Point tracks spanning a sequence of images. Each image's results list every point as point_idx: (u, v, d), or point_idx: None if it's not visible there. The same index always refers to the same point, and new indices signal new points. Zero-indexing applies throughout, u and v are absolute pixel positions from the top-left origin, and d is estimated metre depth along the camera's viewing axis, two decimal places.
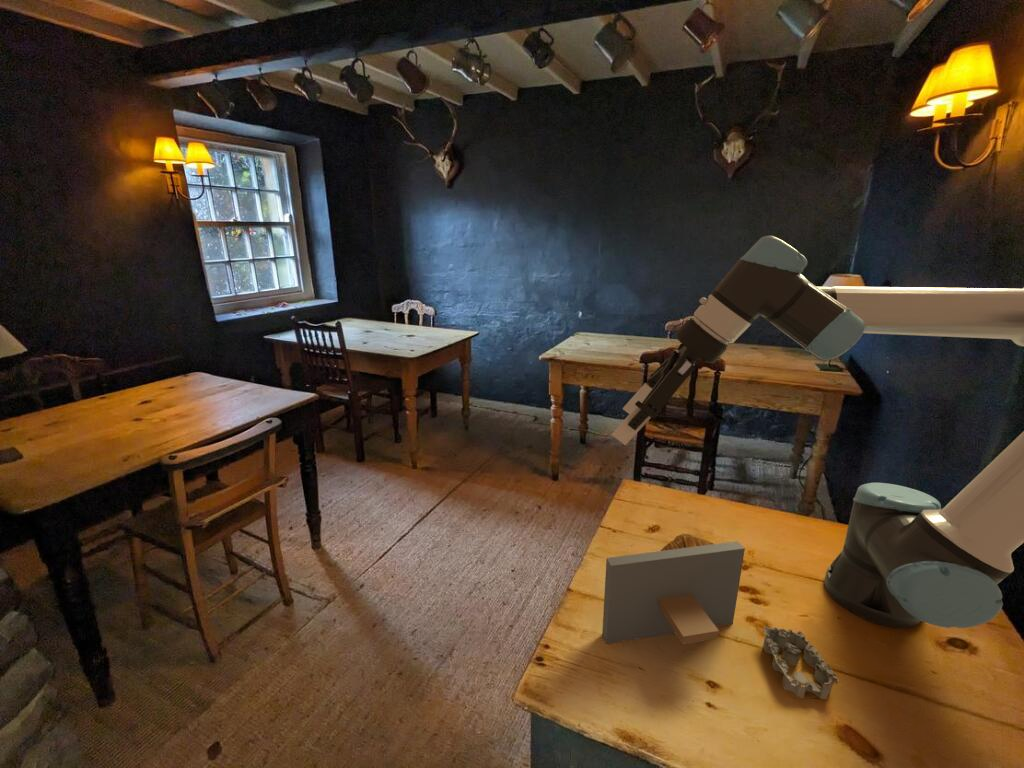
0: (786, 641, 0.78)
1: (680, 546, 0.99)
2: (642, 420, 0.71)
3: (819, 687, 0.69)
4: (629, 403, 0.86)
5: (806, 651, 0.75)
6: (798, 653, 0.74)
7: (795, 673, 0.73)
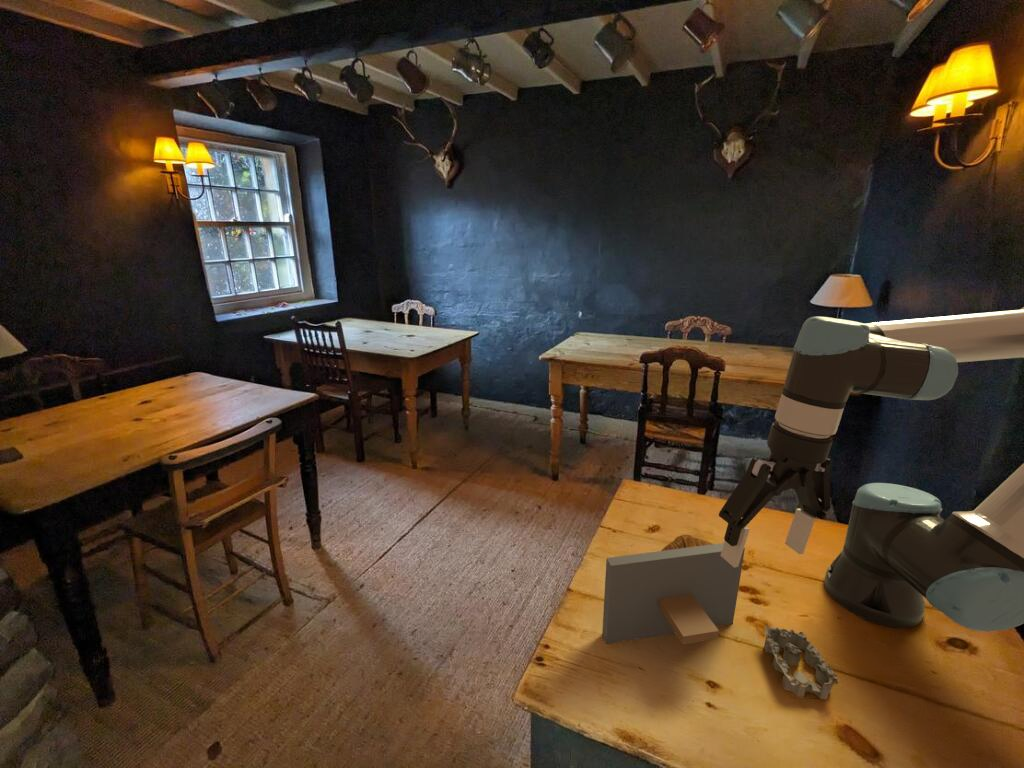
0: (787, 641, 0.77)
1: (680, 546, 0.99)
2: (733, 532, 0.66)
3: (819, 687, 0.69)
4: (789, 535, 0.74)
5: (807, 651, 0.75)
6: (799, 653, 0.74)
7: (796, 673, 0.73)
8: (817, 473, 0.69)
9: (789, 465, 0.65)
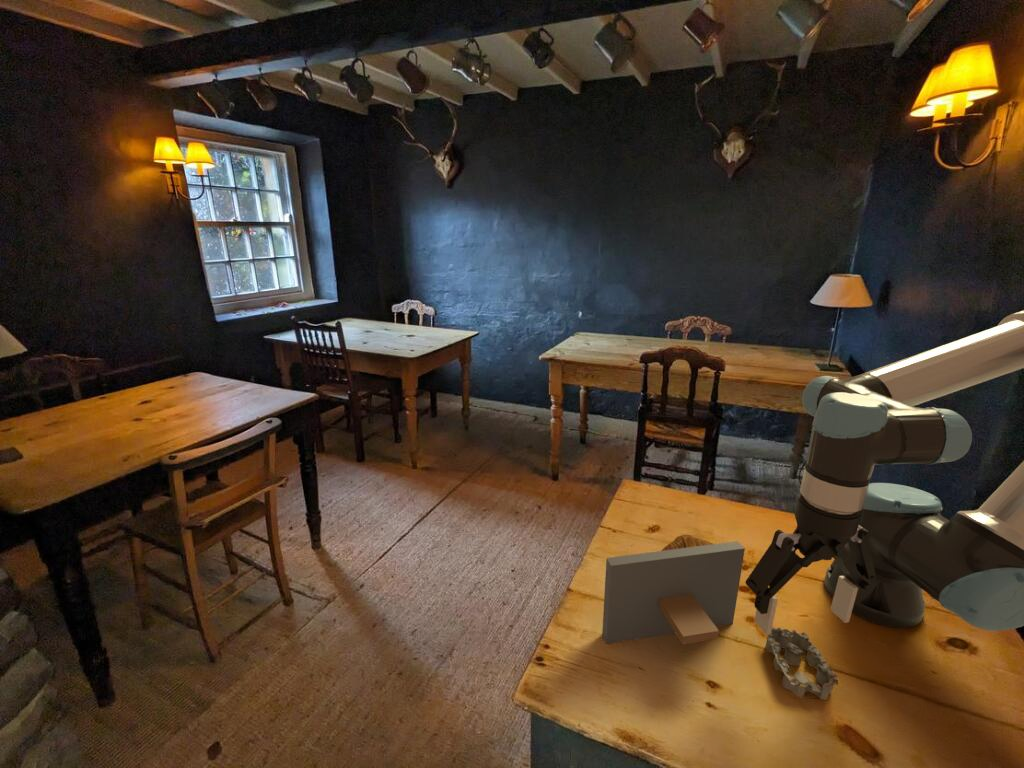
0: (789, 642, 0.77)
1: (680, 546, 0.99)
2: (761, 601, 0.68)
3: (819, 687, 0.69)
4: (833, 602, 0.73)
5: (809, 652, 0.75)
6: (800, 653, 0.74)
7: (796, 673, 0.73)
8: (855, 543, 0.68)
9: (816, 538, 0.65)
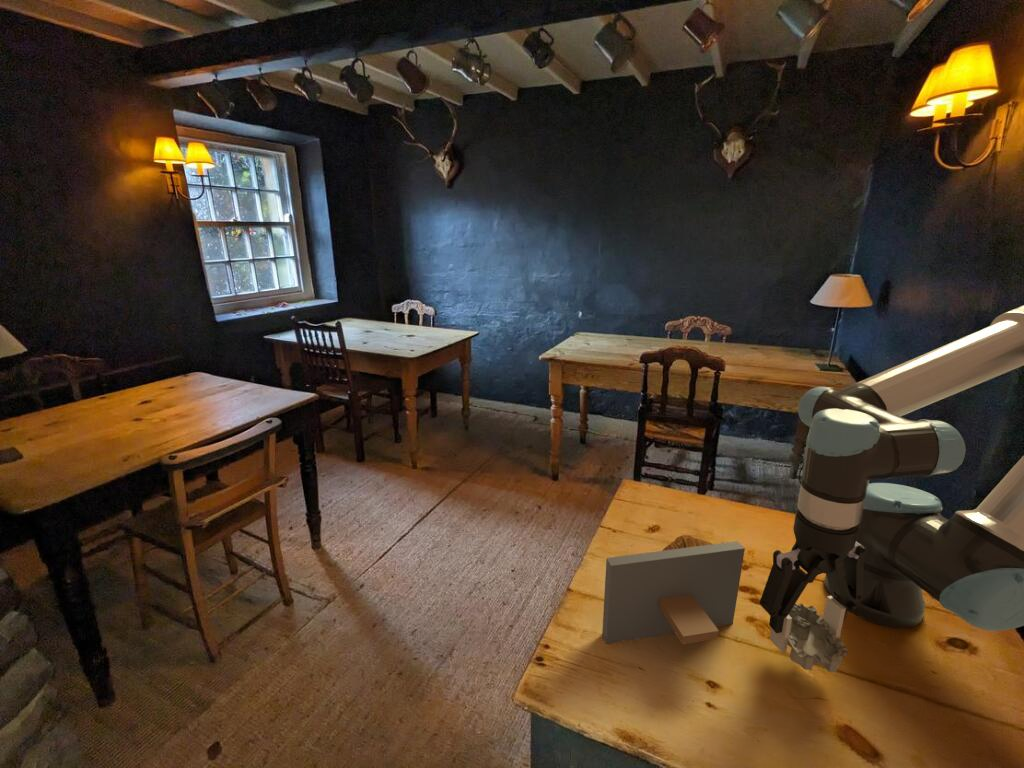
0: (797, 615, 0.76)
1: (680, 547, 0.99)
2: (775, 621, 0.70)
3: (828, 659, 0.67)
4: None
5: (817, 625, 0.73)
6: (808, 626, 0.72)
7: (804, 646, 0.71)
8: (850, 559, 0.69)
9: (814, 551, 0.66)
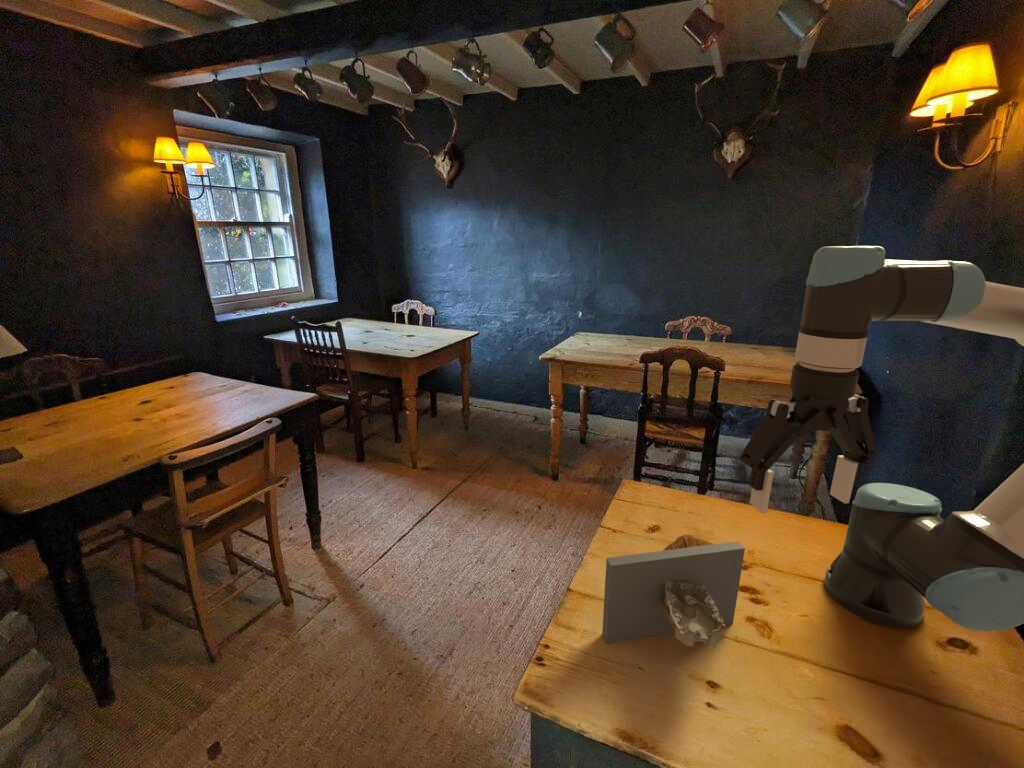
0: (687, 594, 0.77)
1: (681, 547, 0.99)
2: (756, 476, 0.65)
3: (708, 635, 0.68)
4: (833, 485, 0.70)
5: (704, 603, 0.74)
6: (694, 604, 0.73)
7: (690, 624, 0.73)
8: (853, 414, 0.65)
9: (812, 404, 0.62)
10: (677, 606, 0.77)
